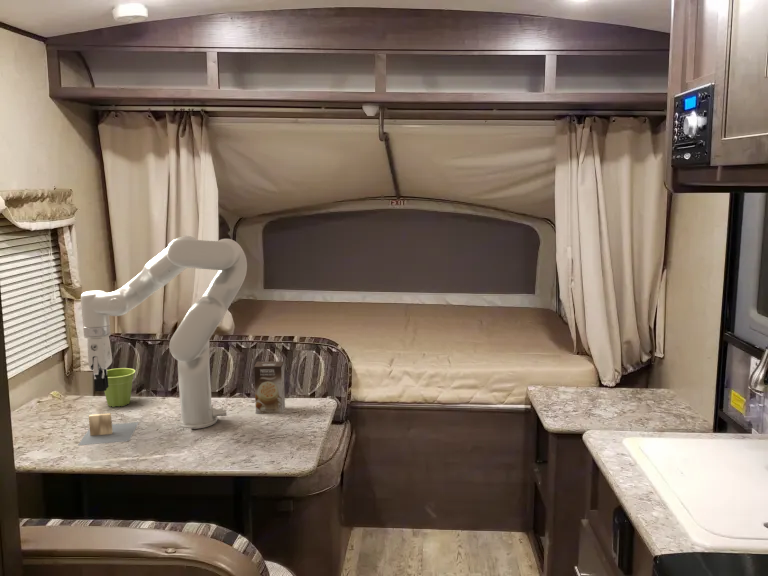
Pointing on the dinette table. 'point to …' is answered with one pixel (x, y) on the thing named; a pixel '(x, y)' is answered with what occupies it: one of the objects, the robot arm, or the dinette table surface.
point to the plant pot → (119, 386)
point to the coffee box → (269, 387)
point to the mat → (119, 434)
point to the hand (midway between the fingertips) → (102, 388)
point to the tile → (100, 424)
